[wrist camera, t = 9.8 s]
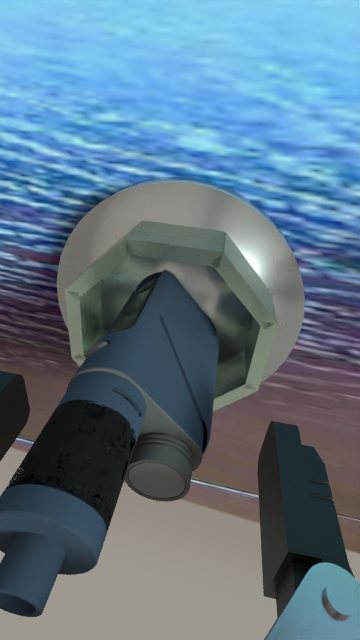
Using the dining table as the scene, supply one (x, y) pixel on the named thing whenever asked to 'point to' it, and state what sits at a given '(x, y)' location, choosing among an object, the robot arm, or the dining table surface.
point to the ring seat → (188, 273)
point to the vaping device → (111, 440)
